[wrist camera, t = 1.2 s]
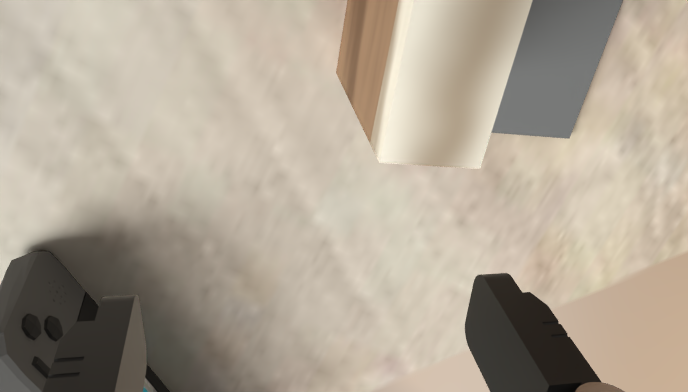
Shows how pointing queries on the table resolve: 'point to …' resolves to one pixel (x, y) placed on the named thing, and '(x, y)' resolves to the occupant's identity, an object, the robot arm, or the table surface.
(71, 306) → the handheld gaming console
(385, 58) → the brown and cream block
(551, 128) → the mat
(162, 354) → the table surface
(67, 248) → the table surface
